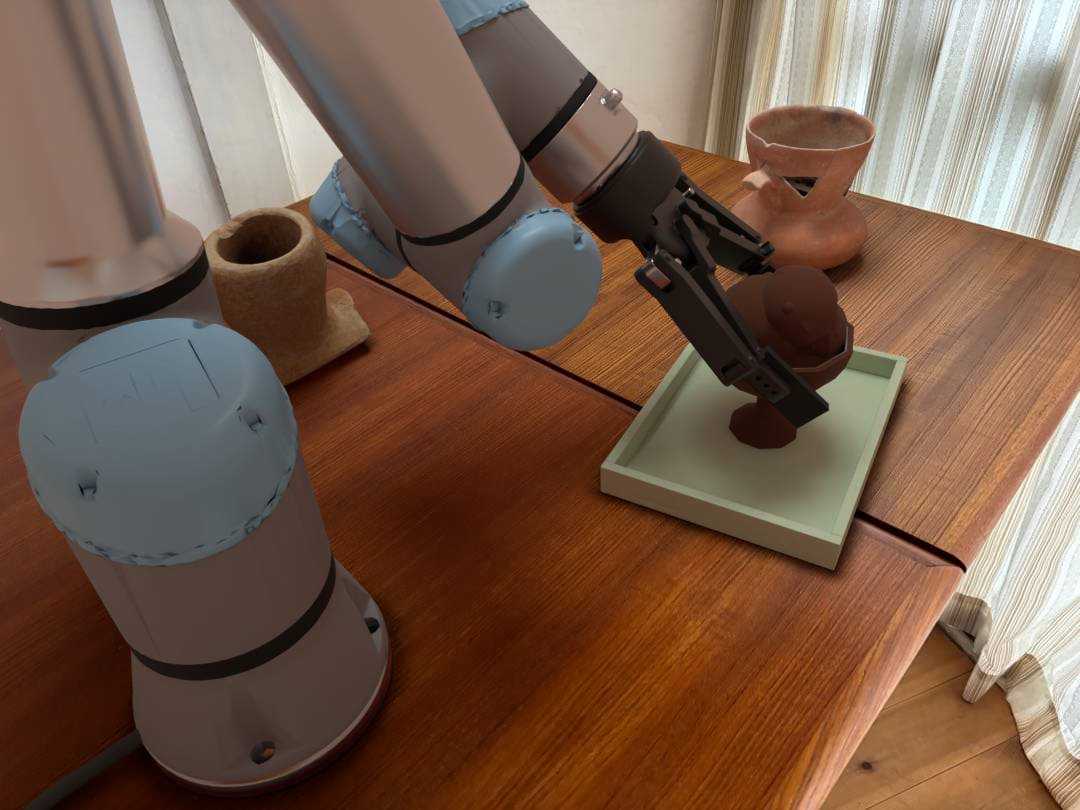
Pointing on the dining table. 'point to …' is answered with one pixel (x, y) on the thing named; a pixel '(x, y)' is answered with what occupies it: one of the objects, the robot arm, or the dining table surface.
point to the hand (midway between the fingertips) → (811, 367)
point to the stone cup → (282, 291)
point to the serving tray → (757, 457)
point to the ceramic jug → (806, 183)
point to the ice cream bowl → (789, 342)
